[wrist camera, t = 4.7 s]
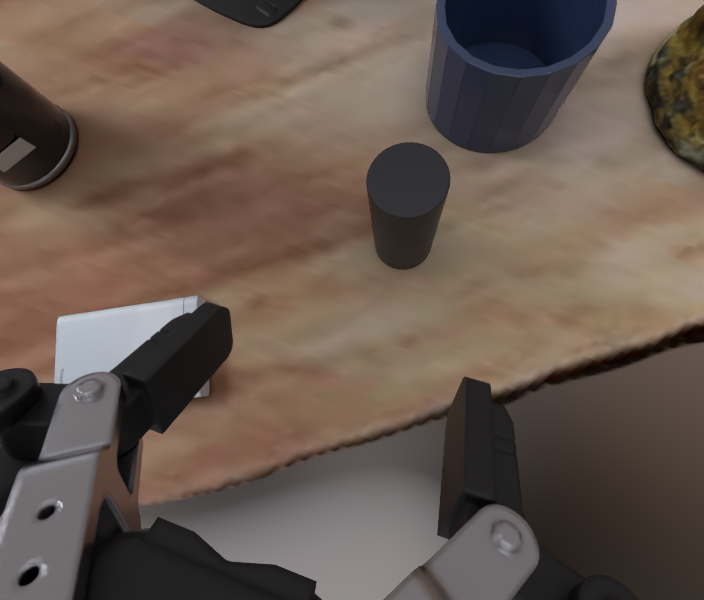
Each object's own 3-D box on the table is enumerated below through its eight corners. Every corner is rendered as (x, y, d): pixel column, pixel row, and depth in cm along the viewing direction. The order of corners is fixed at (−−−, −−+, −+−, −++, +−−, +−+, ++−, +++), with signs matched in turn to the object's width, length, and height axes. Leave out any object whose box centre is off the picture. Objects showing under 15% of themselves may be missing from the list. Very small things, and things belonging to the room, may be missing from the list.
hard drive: (51, 416, 28) (199, 397, 27) (56, 315, 30) (195, 293, 29) (70, 414, 30) (210, 396, 29) (73, 318, 31) (206, 297, 30)
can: (412, 140, 31) (418, 62, 23) (442, 34, 33) (457, -71, 25) (545, 164, 29) (600, 89, 21) (569, 51, 31) (628, -57, 23)
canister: (368, 262, 29) (356, 208, 19) (383, 211, 30) (378, 135, 20) (423, 275, 28) (439, 226, 19) (436, 223, 29) (459, 149, 19)
